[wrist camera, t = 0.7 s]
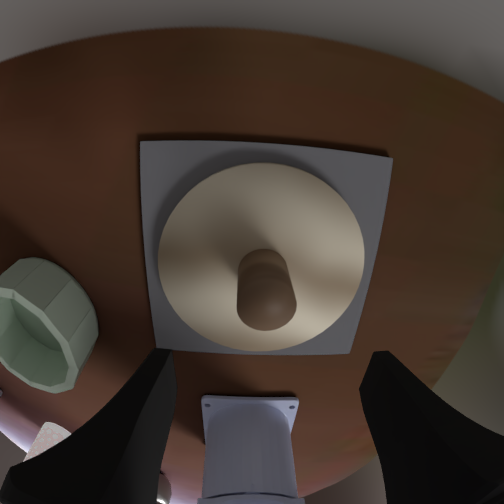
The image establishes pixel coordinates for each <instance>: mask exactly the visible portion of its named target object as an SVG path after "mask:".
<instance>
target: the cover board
mask: <svg viewBox="0 0 504 504" xmlns="http://www.w3.org/2000/svg"><path fill="white" fill-rule="evenodd" d="M363 268H364V243H363V237H362V234H361V230H360V227H359V224H358V222H357V220H356V218H355V216H354V214H353V212H352V211H351V209H350V208H349V206H348V204H347V203H346V202H345V201H344V200H343V199H342V197H341V196H340V195H339V194H338V193H337V192H336V191H335V190H333V189H332V188H331V187H330V186H329V185H328V184H326V183H325V182H324V181H322V180H321V179H319V178H317V177H316V176H314V175H313V174H311V173H308V172H306V171H304V170H302V169H299V168H296V167H292V166H289V165H285V164H279V163H271V162H254V163H247V164H240V165H237V166H233V167H230V168H226V169H224V170H221V171H219V172H217V173H215V174H212V175H211V176H209V177H207V178H206V179H204V180H203V181H201V182H200V183H198V184H197V185H196V186H195V187H193V188H192V189H191V190H190V191H189V192H188V193H187V194H186V195H185V196H184V197H183V198H182V200H181V201H180V202H179V203H178V204H177V206H176V207H175V209H174V210H173V212H172V213H171V215H170V216H169V218H168V220H167V223H166V225H165V227H164V229H163V232H162V236H161V239H160V243H159V250H158V270H159V276H160V281H161V284H162V287H163V290H164V293H165V295H166V297H167V299H168V301H169V303H170V304H171V306H172V307H173V309H174V311H175V312H176V313H177V314H178V315H179V317H180V318H181V319H182V320H183V321H184V322H185V323H186V324H187V325H188V326H189V327H190V328H192V329H193V330H194V331H196V332H197V333H199V334H200V335H202V336H203V337H205V338H207V339H209V340H211V341H213V342H215V343H218V344H220V345H223V346H226V347H230V348H233V349H239V350H244V351H273V350H280V349H284V348H288V347H292V346H295V345H298V344H301V343H303V342H305V341H307V340H309V339H311V338H313V337H315V336H317V335H318V334H320V333H322V332H323V331H324V330H326V329H327V328H328V327H330V326H331V325H332V324H333V323H334V322H335V321H336V320H337V319H338V318H339V317H340V316H341V315H342V314H343V313H344V311H345V310H346V309H347V307H348V306H349V304H350V303H351V301H352V300H353V298H354V296H355V294H356V292H357V289H358V287H359V284H360V281H361V278H362V274H363Z"/></svg>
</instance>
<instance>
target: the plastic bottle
mask: <svg viewBox="0 0 504 504" xmlns="http://www.w3.org/2000/svg"><path fill="white" fill-rule="evenodd" d="M171 495H172V493H171V484H170V482H169V480H168V479H167V478H166V477H165V476H164V475H162V474H160V475H159V483H158V493H157V504H169V502H170V498H171Z"/></svg>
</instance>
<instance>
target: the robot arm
mask: <svg viewBox="0 0 504 504" xmlns="http://www.w3.org/2000/svg"><path fill="white" fill-rule="evenodd" d="M359 391H360V396H361V402H362V406H363V411H364V414H365V417H366V420H367V423H368V426H369V429H370V432H371V435H372V438H373V441H374V444H375V447H376V450H377V453H378V456H379V459H380V463H381V467H382V472H383V478H384V483H385V491H386V499H387V504H504V436H502V435H500V434H497V433H495V432H493V431H491V430H489V429H486V428H485V427H483V426H481V425H479V424H478V423H476V422H474V421H472V420H471V419H469V418H467V417H466V416H464V415H463V414H461V413H460V412H459V411H457V410H456V409H454V408H453V407H451V406H450V405H449V404H447V403H446V402H445V401H443V400H442V399H441V398H440V397H439V396H437V395H436V394H435V393H434V392H433V391H432V390H430V389H429V388H428V387H427V386H426V385H425V384H424V383H423V382H421V381H420V380H419V379H418V378H417V377H416V376H415V375H414V374H413V373H412V372H411V371H410V370H409V369H408V368H406V367H405V366H404V365H403V364H402V363H401V362H400V361H399V360H398V359H397V358H396V357H395V356H394V355H392V354H391V353H390V352H389V351H376V352H373V355H372V358H371V360H370V363H369V365H368V368H367V370H366V373H365V375H364V378H363V380H362V383H361V385H360V388H359ZM176 395H177V382H176V376H175V369H174V362H173V354H172V349H164V348H154V349H153V350H152V351H151V352H150V354H149V355H148V356H147V358H146V359H145V360H144V362H143V363H142V364H141V365H140V367H139V368H138V369H137V370H136V372H135V373H134V374H133V375H132V377H131V378H130V379H129V380H128V381H127V382H126V384H125V385H124V386H123V387H122V388H121V389H120V390H119V392H118V393H117V394H116V395H115V396H114V397H113V398H112V399H111V400H110V401H109V402H108V403H107V404H106V405H105V406H104V407H103V408H102V409H101V410H100V411H99V412H98V413H97V414H96V415H94V416H93V417H92V418H91V419H90V420H89V421H87V422H86V423H85V424H84V425H83V426H81V427H80V428H79V429H77V430H76V431H75V432H73V433H72V434H71V435H69V436H68V437H67V438H65V439H64V440H62V441H61V442H59V443H57V444H56V445H54V446H52V447H51V448H49V449H47V450H46V451H44V452H42V453H40V454H39V455H37V456H35V457H32V458H30V459H28V460H26V461H24V462H22V463H20V464H17V465H15V466H12V467H10V469H9V471H8V473H7V475H6V477H5V480H4V482H3V485H2V487H1V490H0V502H1V503H2V504H157V493H158V483H159V475H160V468H161V463H162V459H163V455H164V451H165V447H166V443H167V439H168V435H169V431H170V427H171V423H172V419H173V415H174V410H175V403H176ZM201 404H202V415H203V425H204V435H205V444H206V450H205V461H204V474H203V486H202V498H198V502H197V504H305V501H304V498H299V499H298V493H297V485H296V477H295V468H294V460H293V452H292V444H291V436H290V433H291V430H292V426H293V423H294V419H295V416H296V412H297V408H298V405H299V400H298V398H296V397H235V396H214V395H204V396H203V397H202V399H201Z"/></svg>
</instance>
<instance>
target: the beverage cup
mask: <svg viewBox="0 0 504 504" xmlns="http://www.w3.org/2000/svg"><path fill="white" fill-rule="evenodd" d="M69 435H71V433H70V432H68V431H67V430H66V429H64V428H63V427H61V426H59V425H57V424H54V423H51V422H46V423H44V425H43V426H42V428H41V430H40V432H39V433H38V435H37V437H36V439H35V441H34V442H33V444H32V446H31V448H30V450H29V452H28V453H27V455H26V457H25V459H24V461H26V460H28V459H30V458H32V457H35V456H37V455H39V454H40V453H42V452H44V451H46V450H47V449H49V448H51V447H52V446H54V445H56V444H57V443H59V442H61V441H62V440H64V439H65V438H67V437H68V436H69ZM24 461H23V462H24Z"/></svg>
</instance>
